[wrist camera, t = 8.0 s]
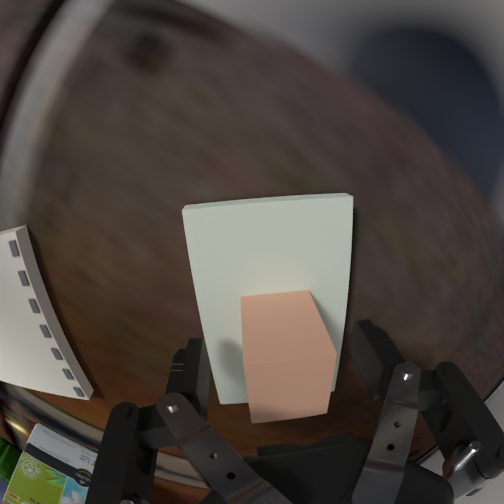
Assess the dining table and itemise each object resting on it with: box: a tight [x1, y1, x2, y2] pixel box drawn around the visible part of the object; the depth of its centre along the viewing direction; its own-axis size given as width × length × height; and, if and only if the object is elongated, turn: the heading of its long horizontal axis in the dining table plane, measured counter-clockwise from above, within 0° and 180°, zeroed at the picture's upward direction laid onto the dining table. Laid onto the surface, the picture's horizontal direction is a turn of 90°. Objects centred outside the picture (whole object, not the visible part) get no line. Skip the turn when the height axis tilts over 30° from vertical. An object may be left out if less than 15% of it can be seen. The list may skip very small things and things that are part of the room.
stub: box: [182, 193, 353, 423], centre depth 13 cm, size 8×13×6 cm, turn 4°
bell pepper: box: [0, 438, 21, 484], centre depth 22 cm, size 8×8×10 cm
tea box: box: [2, 423, 98, 504], centre depth 18 cm, size 15×10×15 cm
